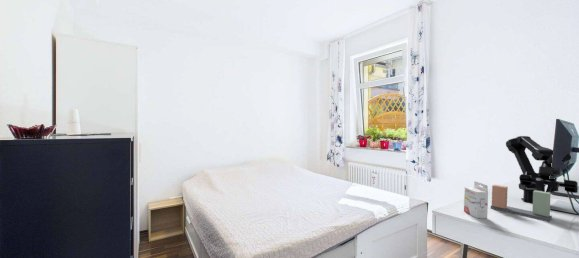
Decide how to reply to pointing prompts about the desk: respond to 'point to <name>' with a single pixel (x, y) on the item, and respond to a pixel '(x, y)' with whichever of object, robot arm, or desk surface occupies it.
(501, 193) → the peach button block
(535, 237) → the desk surface
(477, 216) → the ink cartridge box
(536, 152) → the robot arm
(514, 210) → the grey flat slab
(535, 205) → the pale green block
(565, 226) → the desk surface
